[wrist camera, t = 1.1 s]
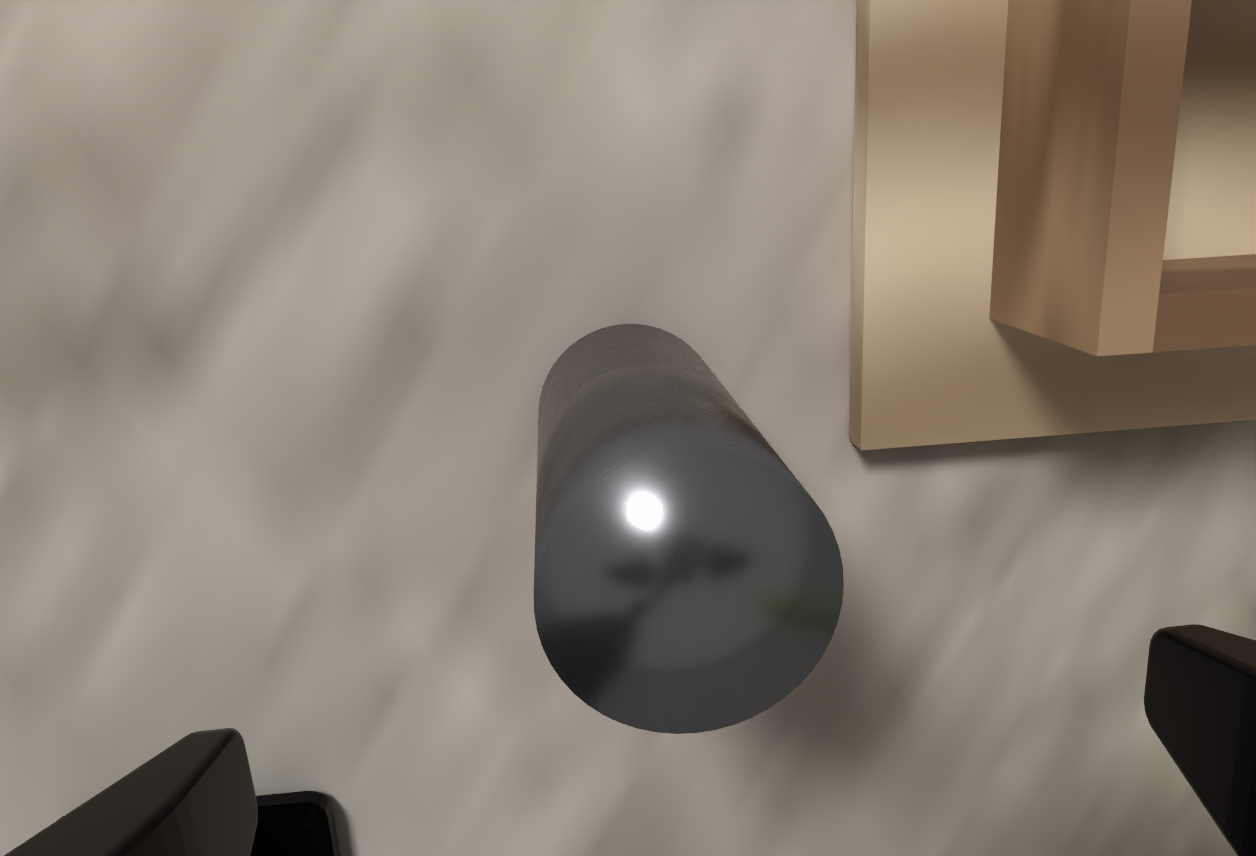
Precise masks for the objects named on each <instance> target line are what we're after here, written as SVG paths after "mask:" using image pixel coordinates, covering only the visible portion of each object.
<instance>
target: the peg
mask: <svg viewBox="0 0 1256 856" xmlns="http://www.w3.org/2000/svg"><path fill="white" fill-rule="evenodd" d="M842 596H843V566H842V561H841V556H840V551H839V547H838V544H837V542H836V539H835V536H834V533H833V531H832V529H831V527H830V525H829V523H828V521H827V519H826V517H825V516H824V514H823V513H822V511H821V510H820V508H819V507H818V506H817V504H816V503H815V502H814V500H813V499H812V498H811V496H810V495H809V494H808V493H807V491H806V490H805V489H804V488H803V486H802V485H801V484H800V483H799V481H798V480H797V479H796V478H795V476H794V475H793V474H792V472H791V471H790V470H789V469H788V467H787V466H786V465H785V464H784V462H783V461H782V460H781V459H780V457H779V456H778V455H777V453H776V452H775V451H774V450H773V448H772V447H771V446H770V445H769V443H768V442H767V441H766V440H765V438H764V437H763V436H762V435H761V433H760V432H759V431H758V429H757V428H756V427H755V426H754V424H753V423H752V422H751V421H750V419H749V418H748V417H747V416H746V414H745V413H744V412H743V411H742V409H741V408H740V407H739V405H738V404H737V403H736V402H735V400H734V399H733V398H732V397H731V395H730V394H729V393H728V392H727V390H726V389H725V388H724V386H723V385H722V384H721V383H720V381H719V380H718V379H717V378H716V376H715V375H714V374H713V373H712V371H711V370H710V369H709V368H708V366H707V365H706V364H705V362H704V361H703V360H702V359H701V357H700V356H699V355H698V354H697V353H696V352H695V351H694V350H693V349H692V348H691V347H690V346H689V345H688V344H687V343H685V342H684V341H683V340H681V339H680V338H678V337H676V336H675V335H673V334H671V333H669V332H666V331H664V330H662V329H659V328H655V327H651V326H647V325H639V324H622V325H615V326H610V327H606V328H602V329H599V330H597V331H594V332H592V333H590V334H588V335H586V336H584V337H583V338H581V339H579V340H578V341H576V342H575V343H574V344H573V345H571V346H570V347H569V348H568V349H567V350H566V351H565V352H564V353H563V354H562V355H561V356H560V357H559V358H558V360H557V361H556V362H555V364H554V365H553V367H552V368H551V370H550V372H549V374H548V375H547V378H546V380H545V383H544V385H543V388H542V392H541V396H540V403H539V420H538V458H537V495H536V533H535V570H534V613H535V620H536V626H537V631H538V634H539V637H540V640H541V644H542V647H543V649H544V651H545V653H546V655H547V657H548V659H549V661H550V663H551V665H552V667H553V668H554V670H555V671H556V672H557V674H558V675H559V677H560V678H561V680H562V681H563V682H564V683H565V684H566V685H567V686H568V687H569V689H570V690H571V691H572V692H573V693H574V694H575V695H577V696H578V697H579V698H580V699H581V700H583V701H584V702H585V703H586V704H587V705H589V706H590V707H592V708H593V709H595V710H597V711H598V712H600V713H601V714H603V715H605V716H607V717H609V718H611V719H613V720H616V721H618V722H620V723H623V724H626V725H629V726H632V727H635V728H638V729H643V730H648V731H653V732H661V733H674V734H680V733H698V732H704V731H711V730H716V729H720V728H723V727H727V726H731V725H734V724H737V723H739V722H742V721H744V720H747V719H749V718H752V717H754V716H755V715H757V714H759V713H761V712H763V711H765V710H767V709H769V708H770V707H771V706H773V705H774V704H776V703H777V702H779V701H780V700H782V699H783V698H784V697H786V696H787V695H788V694H789V693H790V692H791V691H792V690H794V689H795V688H796V687H797V686H798V685H799V684H800V683H801V682H802V681H803V680H804V679H805V678H806V676H807V675H808V674H809V673H810V672H811V671H812V669H813V668H814V667H815V665H816V664H817V662H818V661H819V659H820V658H821V657H822V655H823V653H824V651H825V650H826V648H827V646H828V644H829V642H830V640H831V638H832V635H833V633H834V630H835V627H836V625H837V622H838V618H839V614H840V609H841V605H842Z"/></svg>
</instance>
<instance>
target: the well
mask: <svg viewBox="0 0 1256 856" xmlns="http://www.w3.org/2000/svg"><path fill="white" fill-rule="evenodd" d="M1247 420H1256V0H857V22H856V81H855V139H854V197H853V256H852V314H851V373H850V431H849V440H850V441H851V442H852V443H853V444H854V445H856V446H857V447H858V448H859V449H860V450H872V449H885V448H898V447H911V446H924V445H937V444H950V443H963V442H976V441H989V440H1002V439H1015V438H1027V437H1040V436H1053V435H1066V434H1079V433H1092V432H1105V431H1118V430H1131V429H1144V428H1157V427H1170V426H1183V425H1195V424H1208V423H1221V422H1234V421H1247Z"/></svg>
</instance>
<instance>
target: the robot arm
mask: <svg viewBox="0 0 1256 856" xmlns="http://www.w3.org/2000/svg"><path fill="white" fill-rule="evenodd" d="M1144 706H1145V712H1146V715H1147V718H1148V721H1149V723H1150V725H1151V727H1152V729H1153V730H1154V732H1155V733H1156V735H1157V736H1158V738H1159V739H1160V741H1161V742H1162V744H1163V745H1164V747H1165V748H1166V750H1167V751H1168V753H1169V754H1170V756H1171V757H1172V759H1173V760H1174V762H1175V763H1176V765H1177V766H1178V768H1179V769H1180V771H1181V772H1182V774H1183V775H1184V777H1185V778H1186V780H1187V781H1188V783H1189V784H1190V786H1191V787H1192V789H1193V790H1194V792H1195V793H1196V795H1197V796H1198V798H1199V799H1200V801H1201V802H1202V804H1203V805H1204V807H1205V808H1206V810H1207V811H1208V813H1209V814H1210V816H1211V817H1212V819H1213V820H1214V822H1215V823H1216V825H1217V826H1218V828H1219V829H1220V831H1221V832H1222V834H1223V835H1224V837H1225V838H1226V839H1227V841H1228V842H1229V844H1230V845H1231V847H1232V848H1233V849H1234V851H1235V852H1236V854H1237V855H1238V856H1256V641H1255V640H1252V639H1248V638H1245V637H1241V636H1238V635H1234V634H1231V633H1228V632H1224V631H1221V630H1217V629H1214V628H1210V627H1207V626H1203V625H1183V626H1174V627H1166V628H1161V629H1159V630H1158V631H1156V632H1155V633H1154V634H1153V636H1152V638H1151V641H1150V646H1149V656H1148V665H1147V675H1146V684H1145V694H1144ZM302 811H311V812H313V813H314V814H316V816H315V817H306V816H305V815H303V814H302V813H301V812H302ZM4 856H340V852H339V846H338V840H337V835H336V829H335V823H334V817H333V811H332V806H331V804H330V801H329V799H328V798H326V797H325V796H324V795H323V794H321V793H318V792H316V791H302V792H292V793H281V794H271V795H261V796H256V795H255V790H254V786H253V781H252V776H251V772H250V767H249V762H248V757H247V753H246V748H245V744H244V740H243V738H242V736H241V734H240V733H239V732H238V731H237V730H235V729H233V728H225V729H216V730H207V731H197V732H194V733H191V734H189V735H187V736H186V737H184V738H183V739H181V740H179V741H178V742H176V743H175V744H173V745H172V746H170V747H169V748H167V749H166V750H164V751H163V752H161V753H160V754H158V755H157V756H155V757H154V758H152V759H151V760H149V761H147V762H146V763H144V764H143V765H141V766H140V767H138V768H137V769H135V770H134V771H132V772H131V773H129V774H128V775H126V776H125V777H123V778H122V779H120V780H119V781H117V782H116V783H114V784H112V785H111V786H109V787H108V788H106V789H105V790H103V791H102V792H100V793H99V794H97V795H96V796H94V797H93V798H91V799H90V800H88V801H87V802H85V803H84V804H82V805H80V806H79V807H77V808H76V809H74V810H73V811H71V812H70V813H68V814H67V815H65V816H63V817H61V818H60V819H59V820H57V821H56V822H55V823H53V824H52V825H50V826H49V827H47V828H45V829H44V830H42V831H41V832H39V833H38V834H36V835H35V836H33V837H32V838H30V839H29V840H27V841H26V842H24V843H23V844H21V845H20V846H18V847H17V848H15V849H13V850H12V851H10V852H9V853H7V854H6V855H4Z"/></svg>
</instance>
